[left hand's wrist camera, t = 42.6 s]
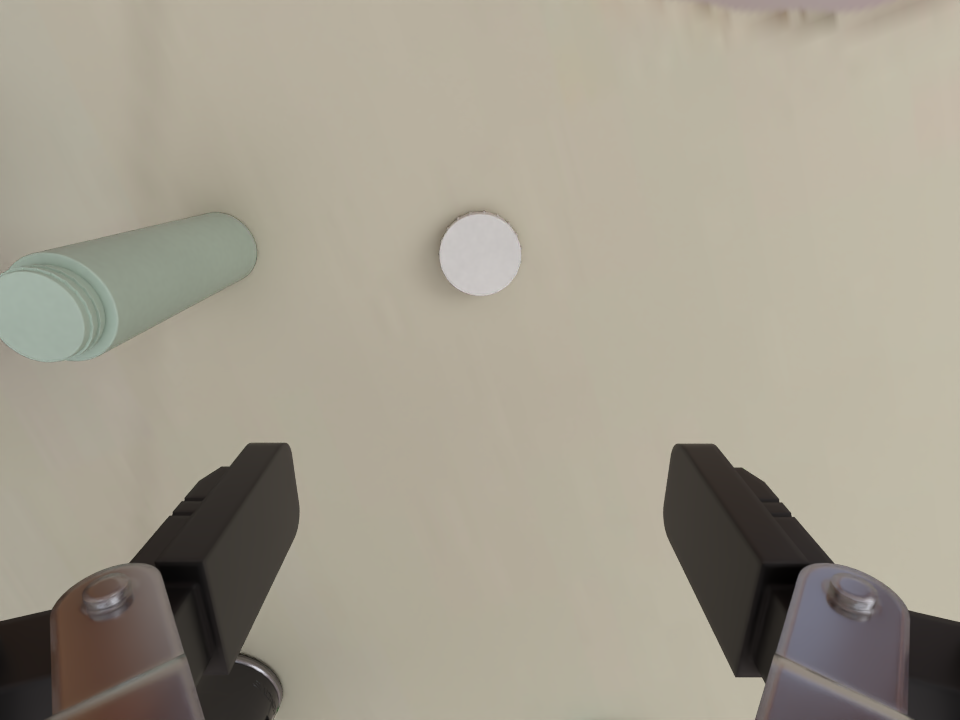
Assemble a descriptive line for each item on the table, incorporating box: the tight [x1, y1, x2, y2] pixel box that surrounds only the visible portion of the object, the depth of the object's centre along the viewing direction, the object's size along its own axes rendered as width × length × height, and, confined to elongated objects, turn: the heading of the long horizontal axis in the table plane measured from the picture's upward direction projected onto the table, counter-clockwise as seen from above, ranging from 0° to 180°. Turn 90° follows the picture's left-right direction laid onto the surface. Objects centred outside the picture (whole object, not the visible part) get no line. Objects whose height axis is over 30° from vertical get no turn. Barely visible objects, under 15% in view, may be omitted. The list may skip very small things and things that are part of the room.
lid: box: [439, 210, 522, 296], centre depth 37 cm, size 6×6×2 cm
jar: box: [0, 212, 257, 362], centre depth 30 cm, size 5×5×17 cm
